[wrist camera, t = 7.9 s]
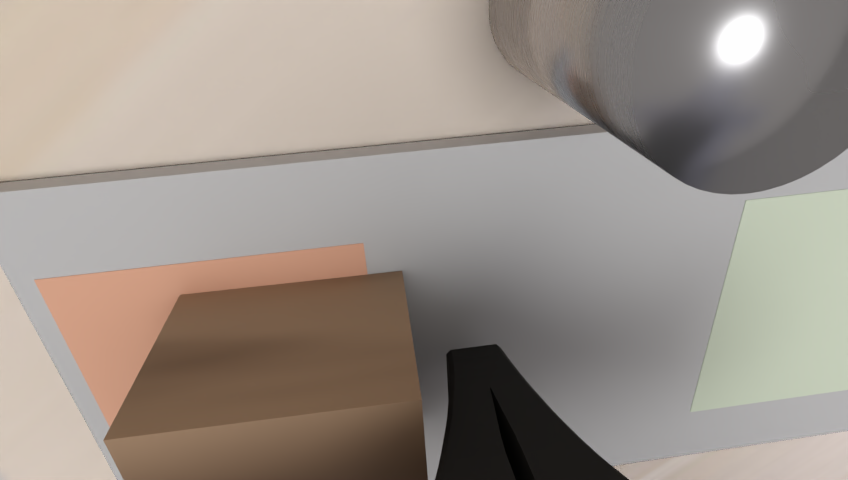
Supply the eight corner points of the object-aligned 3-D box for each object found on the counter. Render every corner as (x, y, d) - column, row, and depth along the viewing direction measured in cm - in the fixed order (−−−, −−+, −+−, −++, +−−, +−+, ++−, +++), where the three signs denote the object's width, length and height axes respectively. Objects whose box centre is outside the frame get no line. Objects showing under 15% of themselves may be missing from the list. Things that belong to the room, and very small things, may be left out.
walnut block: (415, 422, 14) (434, 572, 11) (232, 446, 14) (190, 609, 10) (402, 270, 12) (422, 399, 8) (179, 294, 11) (103, 440, 8)
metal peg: (627, 75, 11) (875, 178, 6) (489, 87, 11) (614, 209, 6) (647, -92, 9) (1005, -159, 4) (488, -81, 9) (656, -134, 4)
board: (878, 410, 17) (894, 424, 17) (153, 516, 16) (147, 535, 15) (1047, 79, 12) (1079, 85, 12) (-17, 184, 10) (-38, 196, 10)
